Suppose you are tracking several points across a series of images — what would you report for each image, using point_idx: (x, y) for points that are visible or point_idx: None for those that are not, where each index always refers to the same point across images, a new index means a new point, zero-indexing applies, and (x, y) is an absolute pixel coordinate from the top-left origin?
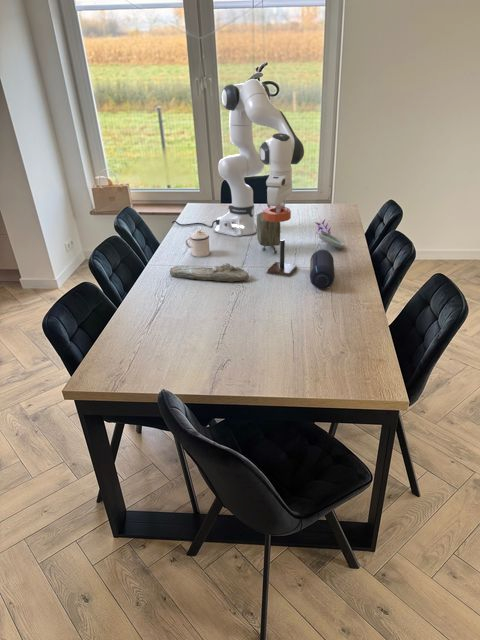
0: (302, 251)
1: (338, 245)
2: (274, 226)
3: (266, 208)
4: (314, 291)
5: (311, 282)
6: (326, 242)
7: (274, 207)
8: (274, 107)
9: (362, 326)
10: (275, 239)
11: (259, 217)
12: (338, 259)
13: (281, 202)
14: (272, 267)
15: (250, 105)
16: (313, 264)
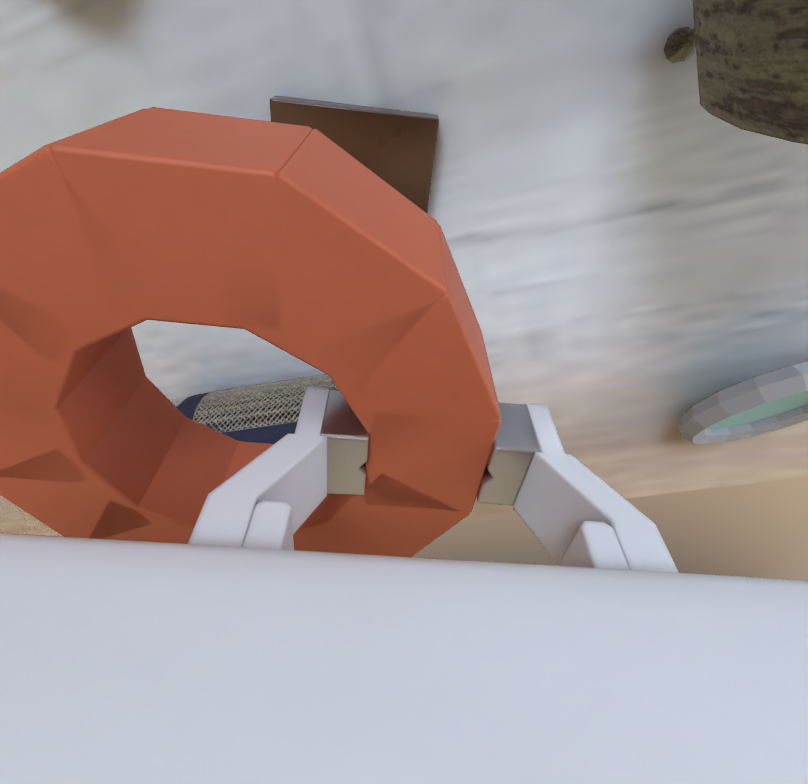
0: (706, 242)
1: (686, 438)
2: (801, 62)
3: (236, 208)
4: (182, 392)
5: (189, 397)
6: (705, 400)
7: (396, 372)
8: None
9: (41, 531)
10: (708, 63)
11: None
12: (570, 425)
13: (577, 508)
14: (328, 126)
15: None
16: (236, 438)
